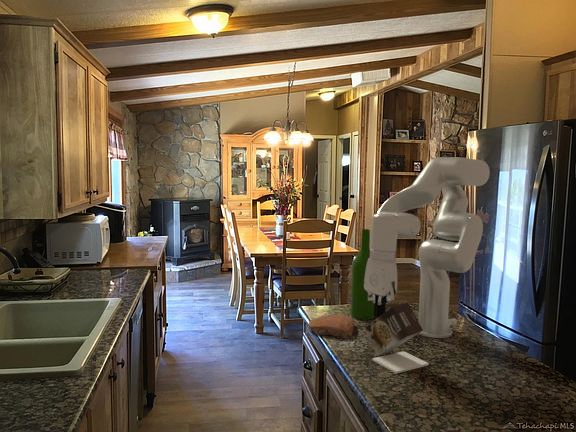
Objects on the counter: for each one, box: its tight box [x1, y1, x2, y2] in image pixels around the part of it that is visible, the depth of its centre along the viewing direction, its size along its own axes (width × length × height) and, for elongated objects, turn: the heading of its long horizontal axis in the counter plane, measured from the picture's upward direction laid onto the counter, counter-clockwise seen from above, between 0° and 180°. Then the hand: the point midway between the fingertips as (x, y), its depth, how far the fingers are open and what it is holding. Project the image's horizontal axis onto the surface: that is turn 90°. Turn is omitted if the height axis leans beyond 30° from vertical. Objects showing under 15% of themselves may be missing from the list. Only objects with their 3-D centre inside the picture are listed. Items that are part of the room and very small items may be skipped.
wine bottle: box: [350, 228, 375, 321], centre depth 180 cm, size 9×9×32 cm
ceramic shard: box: [308, 314, 355, 339], centre depth 165 cm, size 15×6×15 cm
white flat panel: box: [372, 350, 429, 374], centre depth 138 cm, size 12×10×1 cm
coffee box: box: [363, 301, 423, 357], centre depth 141 cm, size 9×6×16 cm
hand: (379, 316), depth 144 cm, fingers closed
